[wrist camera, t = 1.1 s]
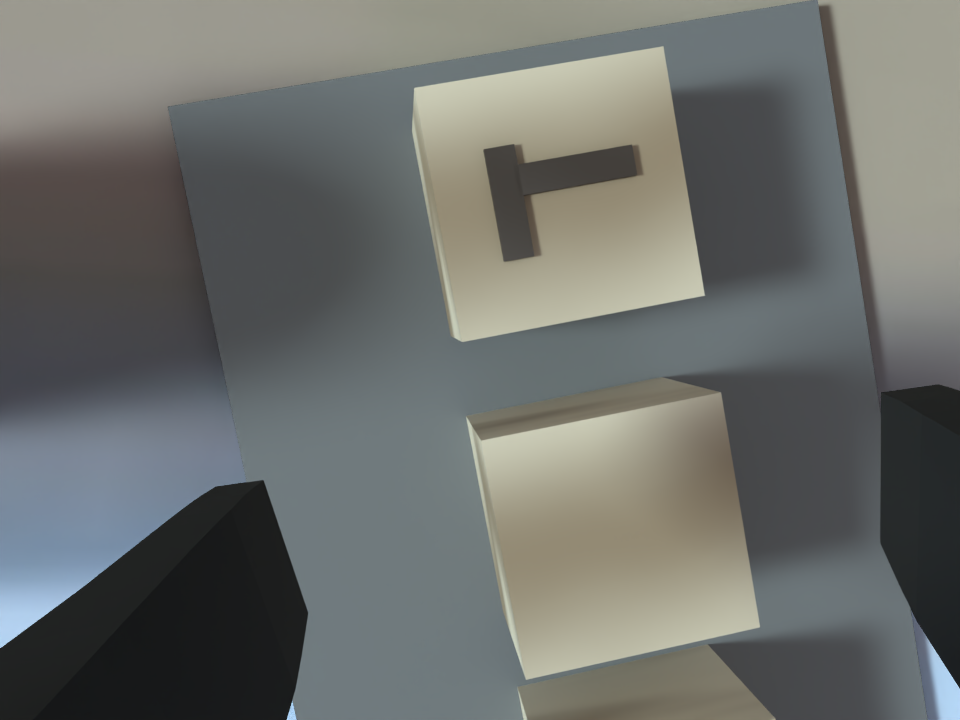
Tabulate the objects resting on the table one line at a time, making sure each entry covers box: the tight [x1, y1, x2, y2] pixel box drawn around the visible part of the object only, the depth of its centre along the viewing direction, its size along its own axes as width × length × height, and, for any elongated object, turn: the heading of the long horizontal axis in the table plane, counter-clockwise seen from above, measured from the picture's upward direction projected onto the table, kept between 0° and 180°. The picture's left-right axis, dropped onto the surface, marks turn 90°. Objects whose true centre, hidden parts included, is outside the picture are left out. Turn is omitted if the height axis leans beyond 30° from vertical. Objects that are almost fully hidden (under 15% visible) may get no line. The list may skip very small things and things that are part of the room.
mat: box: [168, 0, 928, 720], centre depth 22 cm, size 22×16×1 cm
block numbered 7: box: [412, 46, 705, 342], centre depth 19 cm, size 5×5×4 cm
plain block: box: [466, 377, 760, 680], centre depth 19 cm, size 5×5×4 cm
